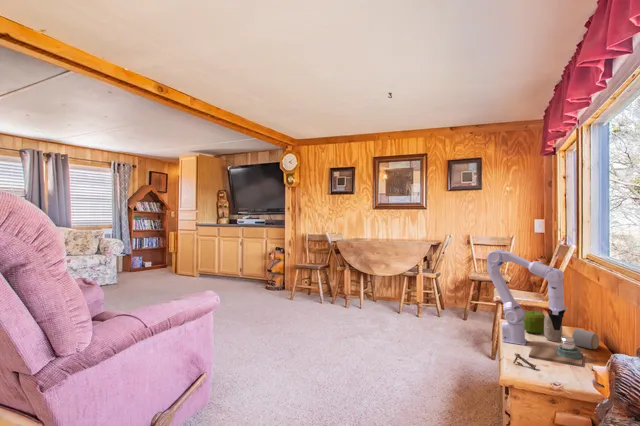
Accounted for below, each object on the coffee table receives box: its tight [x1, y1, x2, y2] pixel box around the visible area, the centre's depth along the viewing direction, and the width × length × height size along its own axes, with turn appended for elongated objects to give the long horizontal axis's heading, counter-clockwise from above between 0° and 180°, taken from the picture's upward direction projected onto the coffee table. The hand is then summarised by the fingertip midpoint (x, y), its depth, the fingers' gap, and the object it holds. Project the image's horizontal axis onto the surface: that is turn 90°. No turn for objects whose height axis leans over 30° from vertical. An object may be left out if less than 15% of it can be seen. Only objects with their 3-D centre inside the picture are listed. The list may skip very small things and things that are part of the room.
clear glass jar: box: [560, 335, 575, 352], centre depth 149 cm, size 4×4×7 cm
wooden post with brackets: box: [513, 352, 537, 370], centre depth 142 cm, size 2×8×4 cm, turn 40°
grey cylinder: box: [571, 327, 600, 350], centre depth 160 cm, size 11×8×8 cm
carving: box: [543, 313, 563, 343], centre depth 170 cm, size 6×8×12 cm
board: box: [528, 345, 584, 367], centre depth 150 cm, size 18×14×4 cm
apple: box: [523, 310, 545, 335], centre depth 182 cm, size 11×11×11 cm
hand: (557, 327), depth 157 cm, fingers open, 7 cm apart
